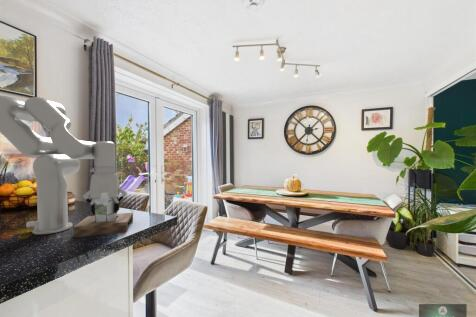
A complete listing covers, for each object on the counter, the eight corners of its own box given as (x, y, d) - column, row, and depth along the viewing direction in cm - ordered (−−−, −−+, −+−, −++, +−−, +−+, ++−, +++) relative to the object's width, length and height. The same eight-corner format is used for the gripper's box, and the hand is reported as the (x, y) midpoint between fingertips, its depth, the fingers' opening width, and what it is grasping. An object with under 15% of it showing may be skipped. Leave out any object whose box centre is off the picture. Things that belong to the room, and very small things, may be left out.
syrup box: (117, 223, 92) (116, 189, 92) (107, 227, 86) (106, 192, 86) (104, 222, 93) (104, 189, 92) (94, 227, 87) (93, 192, 87)
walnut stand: (73, 237, 80) (73, 227, 80) (88, 225, 94) (88, 216, 94) (126, 231, 85) (126, 221, 85) (133, 221, 99) (132, 212, 99)
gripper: (76, 172, 83) (77, 217, 83) (126, 170, 88) (126, 213, 88) (84, 170, 90) (85, 212, 90) (129, 169, 95) (130, 209, 96)
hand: (105, 212), depth 89 cm, fingers closed on syrup box, 7 cm apart
